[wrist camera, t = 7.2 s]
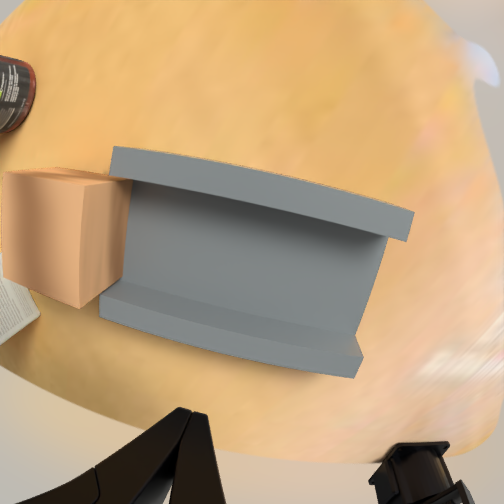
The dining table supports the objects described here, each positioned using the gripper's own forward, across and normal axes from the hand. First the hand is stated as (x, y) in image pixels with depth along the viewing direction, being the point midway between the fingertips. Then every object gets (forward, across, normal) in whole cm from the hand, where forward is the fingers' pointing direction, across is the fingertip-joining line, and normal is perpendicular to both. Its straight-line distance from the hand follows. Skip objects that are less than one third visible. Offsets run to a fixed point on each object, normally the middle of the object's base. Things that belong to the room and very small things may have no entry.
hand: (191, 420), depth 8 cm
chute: (+12, 0, -2) cm, 12 cm away
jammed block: (+10, +10, -2) cm, 15 cm away
